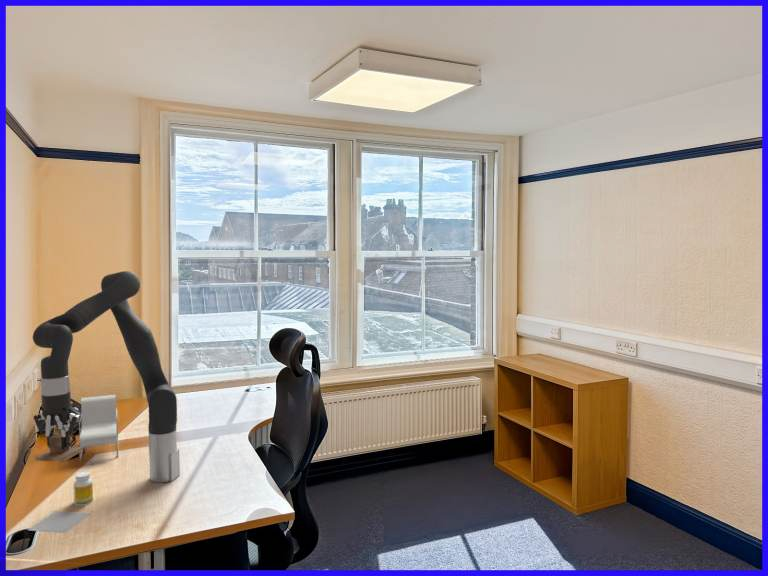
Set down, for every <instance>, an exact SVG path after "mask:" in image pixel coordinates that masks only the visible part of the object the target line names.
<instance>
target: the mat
mask: <svg viewBox="0 0 768 576" xmlns="http://www.w3.org/2000/svg"><path fill="white" fill-rule="evenodd" d="M91 514H92V512H79V511H78V512H77V511H76V512H75V511H64V510H63V511H59V510H55V511H53V512H51V513H49V515H47V516H46V517H44V518H42V519H41V520H40V521H38V522H37V523H35V524H34V525H32V526H31V527H30V528H28V529H27V531H30V532H31V531H32V532H33V531H34V532H45V533H46V532H49V533H51V532H52V533H61V534H62V533H65V534H66V533H68V532H69V531H70V530H72V529H73V528H74V527H75V526H77V525H78V524H79V523H81V522H82V521H84V520H85V519H86V518H87V517H89V516H90V515H91Z"/></svg>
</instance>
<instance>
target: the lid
mask: <svg viewBox="0 0 768 576" xmlns="http://www.w3.org/2000/svg"><path fill="white" fill-rule="evenodd" d="M54 434H55V433H54ZM49 445H50V449H49V448H48V449H47V450H46V451H44V452H42V453H40V454H38V455H37V456H35V457H34V460H35V461H36V462H37V461H38V462H39V461H42V462H44V461H45V462H66V461H68V460H70V459H71V458H72V457H75V456H76V455H78V454H79V453H80V452H81V451H83V452H84V448H83V447H79V446H69V447H68V448H66V449H62V434H61V433H56V434H55V435H53V436H51V437H49Z"/></svg>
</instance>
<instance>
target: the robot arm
mask: <svg viewBox="0 0 768 576" xmlns="http://www.w3.org/2000/svg"><path fill="white" fill-rule="evenodd" d="M100 288H101V291H99V292H98V293H95V294H94V295H92V296H90V297H88V298H86V299H84V300H82V301H80V302H78V303H76V304H75V305H73V306H72V307H71V308H69V309H68V310H66V311H65V312H64V313H62V314H59V315H57V316H54V317H53V318H50V319H48V320H45V321H44V322H42V323H40V325H38V326H37V327H36V328H35V329H34V331H33V334H32V341H33V343H34V344H35V346H37V347H39V348H42V349H51V351H50V355H48V356H45V357H43V358H42V359H41V361H40V374H41V375H40V377H41V378H40V379H41V381H40V393H41V408H42V409H43V410H42V411H41V412H40V413H36V415H33V420H34V422H35V425H36V426H37V430H38V433H39V434H40V435H45V437H46V443H47V444H46V445H47V447H48V450H49V449H50V445H49V437H51V436H53V435H55V432H56V427H57V428H58V430H59V431H60V434H62V449H66V448H68V447H71V435H73V434H75V433H76V432H77V430H78V428H79V421H80V422H81V420H80V418H81V419H82V416H81V413H79V414H75V413H73V412H72V409H71V405H72V398H71V381H70V375H69V358H70V355H71V351H72V346H73V341H74V335H73V334H76V333H79V332H81V331H82V330H83V329H85V328H86V327H87V326H88V325H90V324H91V323H93V322H95V320H96V319H97V318H99V317H101V316H102V315H103V314H104V313H106V312H108V311H109V310H111V313H112V315H113V317H114V319H115V321H116V323H117V326H118V329H119V331H120V333H121V336H122V338H123V341H124V344H125V347H126V349H127V353H128V354H129V357H130V359H131V361H132V363H133V365H134V368H136V370H137V372H138V373H139V376H140V378H141V381H142V384H143V389H144V392H145V397H146V402H147V404H148V424H147V425H148V426H147V427H148V456H149V457H148V458H149V461H148V462H149V480H150V481H151V482H153V483H166V482H173V481H174V480H175V479H177V478H178V476H180V474H181V469H180V468H181V466H180V464H181V463H180V449H179V448H178V445H177V443H178V442H177V440H178V439H177V424H178V401H177V395H176V393H175V391H174V390H173V388H172V387H171V385H170V383H169V382H168V379H167V377H166V375H165V374H164V371H163V368H162V365H161V360H160V354H159V350H158V346H157V342H156V341H155V337H154V335H153V333H152V330H151V328H150V327H148V325H147V324H146V323H145V322H144V321H143V320H142V319H141V318H140V317H138V315H137V314H136V313H135V312H134V310H133V309H132V307H131V305H130V303H129V301H128V299H130V298H132V297H135V296H136V295H137V294H138V293H139V292H140V289H141V281H140V278H139V277H138V275H137V274H136V273H135V272H132V271H129V270H125V271H119V272H115V273H110V274H109V273H108V274H107V275H105V276H103V278H102V279H101V282H100ZM69 419H70V420H69Z"/></svg>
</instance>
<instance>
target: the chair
mask: <svg viewBox="0 0 768 576" xmlns="http://www.w3.org/2000/svg"><path fill="white" fill-rule="evenodd" d="M116 396H117V395H116V394H108V395H99V396H89V397H81V400H80V401H81V402H80V403H81V404H80V405H81V412H80V415H81V418H80V421H79V424H78V432H79V433H78V436H79V446H78V447H83V449H84V448H91V447H97V446H98V447H99V446H106V445H115V444H116V453H117V457H119V425H118V424H119V422H118V420H119V419H118V408H117V399H116ZM83 452H84V450H83V451H81V452H80V453H78V454H79V456H78V457H79V463H80V462H82V458H83V457H82V456H83Z"/></svg>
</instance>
